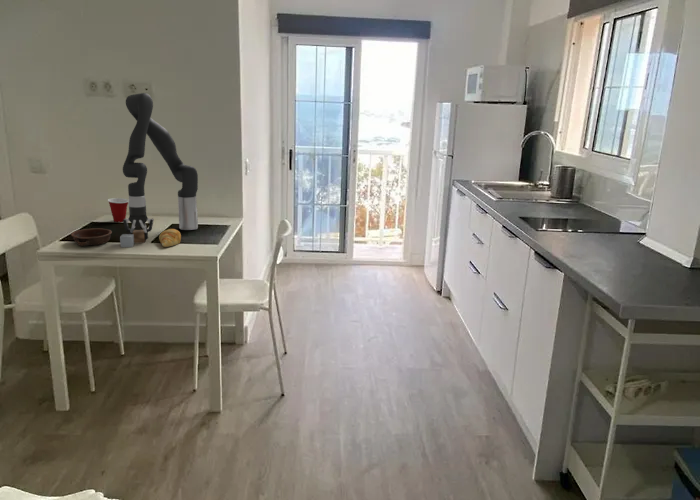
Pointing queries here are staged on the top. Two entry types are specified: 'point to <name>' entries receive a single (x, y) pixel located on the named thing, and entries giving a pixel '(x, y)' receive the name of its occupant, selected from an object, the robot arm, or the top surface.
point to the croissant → (170, 237)
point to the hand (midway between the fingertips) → (139, 239)
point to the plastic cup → (118, 208)
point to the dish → (91, 236)
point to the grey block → (127, 240)
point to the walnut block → (139, 236)
